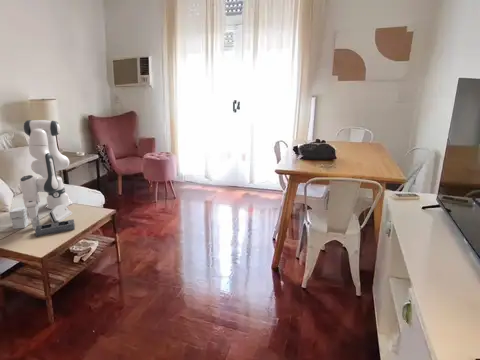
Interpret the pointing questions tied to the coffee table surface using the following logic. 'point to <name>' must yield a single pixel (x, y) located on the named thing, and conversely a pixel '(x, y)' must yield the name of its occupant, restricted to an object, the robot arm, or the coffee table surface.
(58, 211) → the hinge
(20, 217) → the supplement box
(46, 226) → the rail
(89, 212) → the coffee table surface
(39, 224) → the nut block
